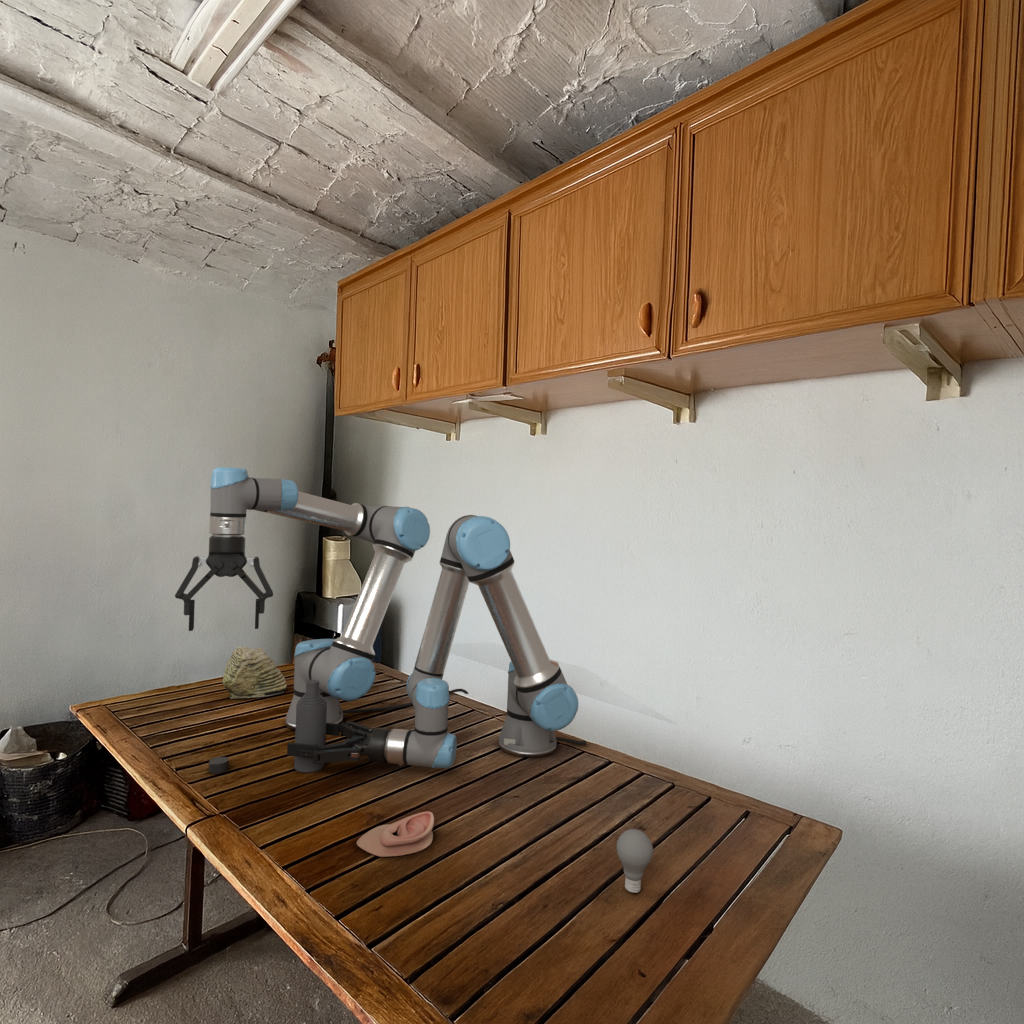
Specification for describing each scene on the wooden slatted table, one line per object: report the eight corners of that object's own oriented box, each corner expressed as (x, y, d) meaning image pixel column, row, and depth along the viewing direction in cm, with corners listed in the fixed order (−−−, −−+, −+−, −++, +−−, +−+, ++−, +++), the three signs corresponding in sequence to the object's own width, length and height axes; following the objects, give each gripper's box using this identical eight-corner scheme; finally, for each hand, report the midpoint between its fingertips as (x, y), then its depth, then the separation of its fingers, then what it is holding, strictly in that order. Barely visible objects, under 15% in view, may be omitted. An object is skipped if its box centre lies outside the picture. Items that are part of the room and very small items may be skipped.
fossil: (218, 695, 195) (220, 647, 195) (278, 685, 208) (279, 640, 207) (228, 703, 189) (230, 653, 188) (289, 692, 201) (290, 645, 201)
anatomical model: (349, 829, 113) (376, 800, 125) (348, 851, 113) (375, 820, 125) (420, 841, 111) (440, 810, 122) (419, 863, 111) (439, 830, 122)
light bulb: (610, 879, 108) (613, 822, 108) (644, 879, 109) (647, 822, 109) (619, 902, 102) (622, 840, 102) (655, 901, 103) (658, 840, 103)
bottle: (319, 773, 145) (322, 686, 145) (289, 771, 145) (292, 684, 145) (328, 760, 152) (331, 677, 151) (299, 759, 152) (303, 676, 151)
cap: (232, 768, 146) (232, 758, 146) (218, 775, 142) (218, 765, 142) (218, 764, 147) (219, 755, 147) (204, 771, 143) (204, 761, 143)
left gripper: (162, 535, 136) (159, 634, 136) (286, 537, 145) (283, 630, 145) (168, 533, 143) (165, 627, 143) (285, 535, 152) (282, 623, 152)
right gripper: (370, 785, 134) (275, 776, 136) (403, 741, 159) (322, 734, 161) (371, 750, 134) (276, 741, 136) (405, 712, 159) (323, 705, 161)
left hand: (224, 628), depth 144 cm, fingers open, 13 cm apart
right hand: (301, 737), depth 149 cm, fingers open, 13 cm apart
